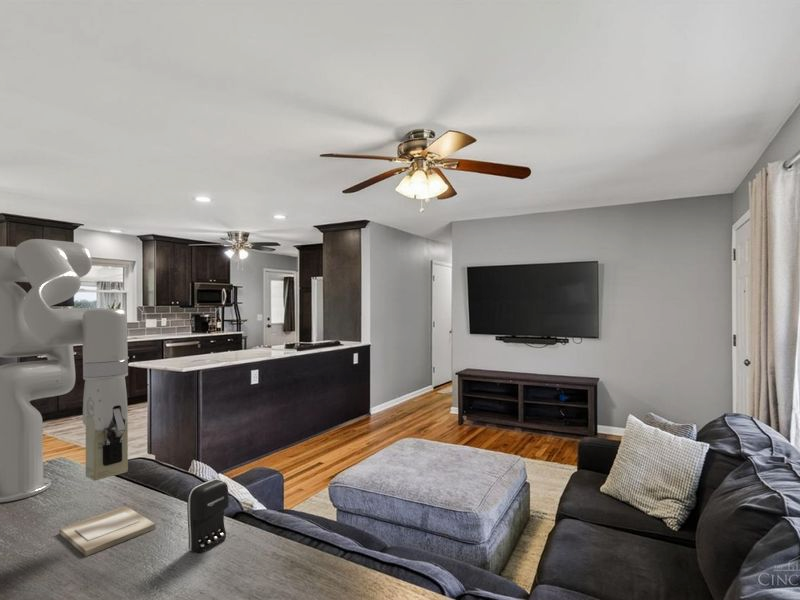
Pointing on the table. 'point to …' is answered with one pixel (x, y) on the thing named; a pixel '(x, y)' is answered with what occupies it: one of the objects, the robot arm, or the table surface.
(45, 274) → the robot arm
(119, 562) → the table surface
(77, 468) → the table surface
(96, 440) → the skincare box
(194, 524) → the battery charger
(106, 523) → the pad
